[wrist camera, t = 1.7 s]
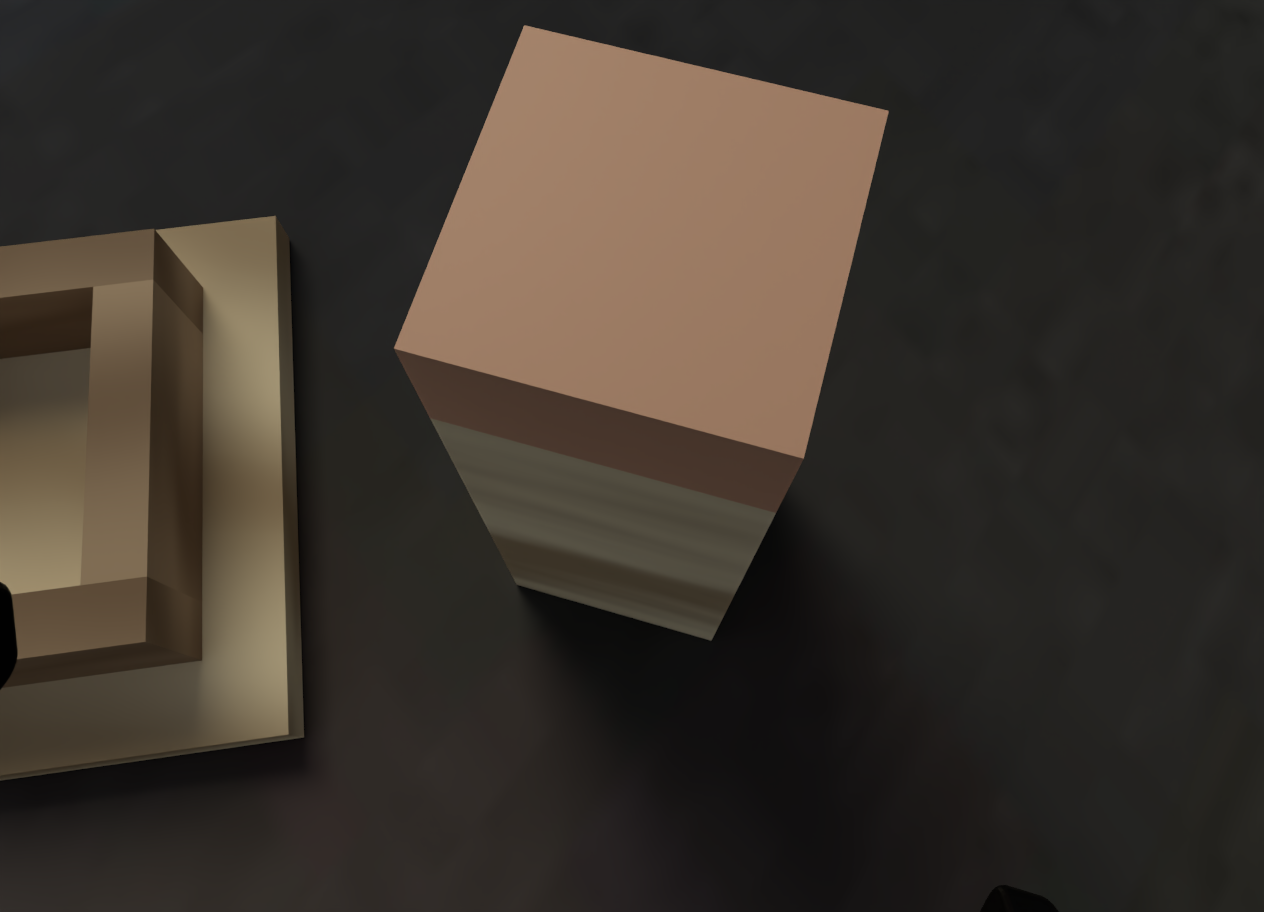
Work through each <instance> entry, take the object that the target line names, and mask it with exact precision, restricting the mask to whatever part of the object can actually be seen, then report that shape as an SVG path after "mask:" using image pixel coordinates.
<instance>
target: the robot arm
mask: <svg viewBox="0 0 1264 912" xmlns="http://www.w3.org/2000/svg"><path fill="white" fill-rule="evenodd" d="M17 657H18V647H17V638H16V628H15V618H14V608H13V599H12V594H11V592H10V590H9V589H8V587H7V586H6V585H5V584H3V583H2V582H0V690H1V689H2V687H3V686H4V685H5V684H6V682H7V681H8V679H9V678H10V676H11V674H12V672H13V670H14V668H15V665H16V662H17ZM980 912H1058V910H1057V909H1056V908H1055V906H1054V905H1053V904H1052V903H1051V902H1050V901H1049V900H1048V899H1046V898H1044V897H1042V896H1040V895H1037V894H1033V893H1030V892H1027V891H1024V890H1020V889H1017V888H1014V887H1010V886H1007V885H1000V886H997V887H996V888H994V889H993V890H992V891H991V893H990V894H989V896H988V898H987V899H986V901H985V903H984V905H983V907H982V909H981V911H980Z"/></svg>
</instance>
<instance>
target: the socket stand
mask: <svg viewBox="0 0 1264 912" xmlns="http://www.w3.org/2000/svg"><path fill="white" fill-rule="evenodd" d="M0 582H2V583H3V584H5V585H6V586H7V587H8V589H9V590H10V592H11V594H12V599H13V608H14V618H15V628H16V638H17V647H18V657H17V662H16V665H15V668H14V670H13V672H12V674H11V676H10V678H9V679H8V681H7V682H6V684H5V685H4V686H3V687H2V689H1V690H0V781H1V780H8V779H15V778H22V777H30V776H37V775H44V774H51V773H58V772H65V771H72V770H79V769H86V768H93V767H100V766H107V765H114V764H121V763H128V762H135V761H142V760H149V759H156V758H163V757H170V756H177V755H184V754H191V753H198V752H205V751H212V750H219V749H226V748H233V747H241V746H248V745H255V744H262V743H269V742H276V741H283V740H290V739H297V738H304V716H303V683H302V649H301V616H300V582H299V549H298V515H297V482H296V448H295V415H294V381H293V348H292V314H291V281H290V247H289V237H288V236H287V234H286V232H285V231H284V229H283V227H282V226H281V224H280V222H279V221H278V219H277V217H276V216H271V217H263V218H254V219H246V220H237V221H229V222H220V223H212V224H203V225H195V226H186V227H178V228H169V229H161V230H155V229H148V230H140V231H131V232H123V233H114V234H106V235H97V236H89V237H80V238H72V239H63V240H55V241H46V242H37V243H29V244H20V245H12V246H3V247H0Z"/></svg>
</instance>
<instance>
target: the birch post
mask: <svg viewBox="0 0 1264 912" xmlns="http://www.w3.org/2000/svg"><path fill="white" fill-rule="evenodd" d="M887 116H888V111H887V110H882V109H878V108H874V107H870V106H865V105H861V104H857V103H852V102H848V101H844V100H840V99H835V98H831V97H827V96H823V95H818V94H814V93H810V92H806V91H801V90H797V89H793V88H789V87H784V86H780V85H776V84H772V83H767V82H763V81H759V80H755V79H750V78H746V77H742V76H738V75H733V74H729V73H725V72H720V71H716V70H712V69H708V68H703V67H699V66H695V65H691V64H686V63H682V62H678V61H674V60H669V59H665V58H661V57H657V56H652V55H648V54H644V53H640V52H635V51H631V50H627V49H623V48H618V47H614V46H610V45H606V44H601V43H597V42H593V41H589V40H584V39H580V38H576V37H571V36H567V35H563V34H559V33H554V32H550V31H546V30H542V29H537V28H533V27H529V26H525V25H524V28H523V30H522V33H521V35H520V38H519V40H518V43H517V45H516V48H515V50H514V53H513V55H512V57H511V60H510V62H509V65H508V67H507V70H506V72H505V75H504V77H503V80H502V82H501V85H500V87H499V90H498V92H497V95H496V97H495V100H494V102H493V105H492V107H491V109H490V112H489V114H488V117H487V119H486V122H485V124H484V127H483V129H482V132H481V134H480V137H479V139H478V142H477V144H476V147H475V149H474V152H473V154H472V157H471V159H470V161H469V164H468V166H467V169H466V171H465V174H464V176H463V179H462V181H461V184H460V186H459V189H458V191H457V194H456V196H455V199H454V201H453V204H452V206H451V209H450V211H449V213H448V216H447V218H446V221H445V223H444V226H443V228H442V231H441V233H440V236H439V238H438V241H437V243H436V246H435V248H434V251H433V253H432V256H431V258H430V261H429V263H428V266H427V268H426V270H425V273H424V275H423V278H422V280H421V283H420V285H419V288H418V290H417V293H416V295H415V298H414V300H413V303H412V305H411V308H410V310H409V313H408V315H407V318H406V320H405V322H404V325H403V327H402V330H401V332H400V335H399V337H398V340H397V342H396V345H395V347H394V350H395V352H396V354H397V355H398V357H399V359H400V361H401V363H402V365H403V367H404V369H405V371H406V373H407V375H408V377H409V378H410V380H411V382H412V384H413V386H414V388H415V390H416V392H417V394H418V396H419V398H420V400H421V402H422V403H423V405H424V407H425V409H426V411H427V413H428V415H429V417H430V419H431V421H432V423H433V425H434V427H435V428H436V430H437V432H438V434H439V436H440V438H441V440H442V442H443V444H444V446H445V448H446V450H447V452H448V453H449V455H450V457H451V459H452V461H453V463H454V465H455V467H456V469H457V471H458V473H459V475H460V477H461V478H462V480H463V482H464V484H465V486H466V488H467V490H468V492H469V494H470V496H471V498H472V500H473V502H474V503H475V505H476V507H477V509H478V511H479V513H480V515H481V517H482V519H483V521H484V523H485V525H486V526H487V528H488V530H489V532H490V534H491V536H492V538H493V540H494V542H495V544H496V546H497V548H498V550H499V551H500V553H501V555H502V557H503V559H504V561H505V563H506V565H507V567H508V569H509V571H510V573H511V575H512V576H513V578H514V580H515V582H516V584H517V585H519V586H523V587H526V588H530V589H533V590H537V591H540V592H544V593H547V594H551V595H554V596H558V597H561V598H565V599H568V600H572V601H575V602H578V603H582V604H585V605H589V606H592V607H596V608H599V609H603V610H606V611H610V612H613V613H617V614H620V615H624V616H627V617H631V618H634V619H638V620H641V621H644V622H648V623H651V624H655V625H658V626H662V627H665V628H669V629H672V630H676V631H679V632H683V633H686V634H690V635H693V636H697V637H700V638H704V639H707V640H710V641H711V640H712V639H713V637H714V635H715V633H716V631H717V629H718V627H719V625H720V623H721V621H722V619H723V617H724V615H725V613H726V611H727V609H728V607H729V605H730V603H731V601H732V599H733V597H734V595H735V593H736V591H737V589H738V587H739V585H740V583H741V581H742V579H743V577H744V575H745V573H746V571H747V569H748V567H749V565H750V563H751V561H752V560H753V558H754V556H755V554H756V552H757V550H758V548H759V546H760V544H761V542H762V540H763V538H764V536H765V534H766V532H767V530H768V528H769V526H770V524H771V522H772V520H773V518H774V516H775V514H776V512H777V510H778V508H779V506H780V504H781V502H782V500H783V498H784V496H785V494H786V492H787V490H788V488H789V486H790V484H791V482H792V481H793V479H794V477H795V475H796V473H797V471H798V469H799V467H800V465H801V463H802V461H803V459H804V455H805V451H806V447H807V443H808V439H809V434H810V430H811V426H812V422H813V418H814V414H815V410H816V406H817V402H818V398H819V394H820V389H821V385H822V381H823V377H824V373H825V369H826V365H827V361H828V357H829V353H830V349H831V344H832V340H833V336H834V332H835V328H836V324H837V320H838V316H839V312H840V308H841V304H842V299H843V295H844V291H845V287H846V283H847V279H848V275H849V271H850V267H851V263H852V259H853V255H854V250H855V246H856V242H857V238H858V234H859V230H860V226H861V222H862V218H863V214H864V210H865V205H866V201H867V197H868V193H869V189H870V185H871V181H872V177H873V173H874V169H875V165H876V160H877V156H878V152H879V148H880V144H881V140H882V136H883V132H884V128H885V124H886V120H887Z"/></svg>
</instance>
